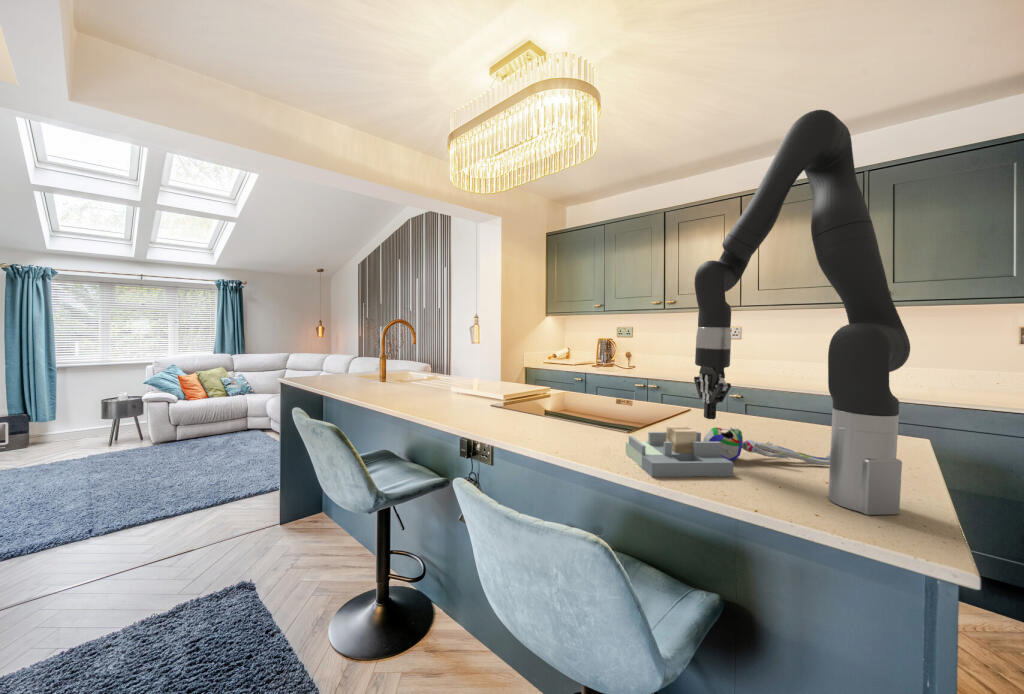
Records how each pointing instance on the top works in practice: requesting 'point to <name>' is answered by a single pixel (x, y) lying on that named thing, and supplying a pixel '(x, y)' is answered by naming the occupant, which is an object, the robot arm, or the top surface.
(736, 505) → the top surface
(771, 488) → the top surface
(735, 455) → the toy
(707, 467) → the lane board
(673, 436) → the block
